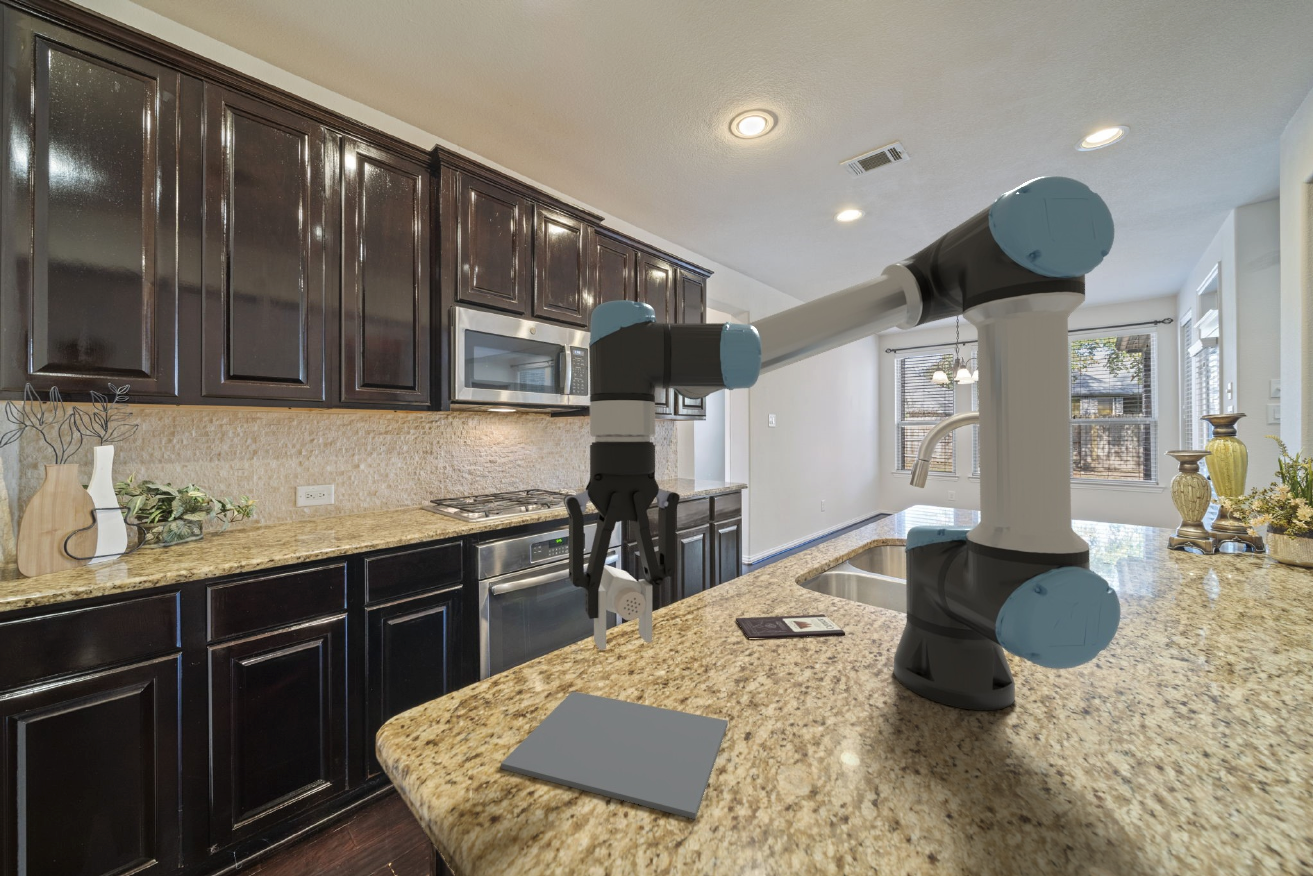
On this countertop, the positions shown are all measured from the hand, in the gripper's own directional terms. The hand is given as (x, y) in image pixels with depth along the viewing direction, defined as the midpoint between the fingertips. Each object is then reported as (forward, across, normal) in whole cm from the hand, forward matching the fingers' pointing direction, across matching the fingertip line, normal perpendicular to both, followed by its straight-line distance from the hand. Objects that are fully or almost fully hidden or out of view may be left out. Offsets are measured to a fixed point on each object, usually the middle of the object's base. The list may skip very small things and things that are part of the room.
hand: (623, 640), depth 57 cm
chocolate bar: (+13, -40, -24) cm, 48 cm away
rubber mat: (+13, 0, -1) cm, 13 cm away
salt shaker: (-5, 0, -6) cm, 8 cm away
